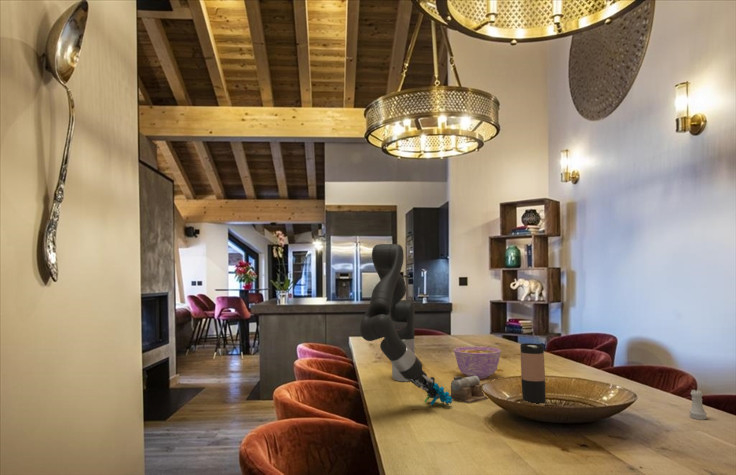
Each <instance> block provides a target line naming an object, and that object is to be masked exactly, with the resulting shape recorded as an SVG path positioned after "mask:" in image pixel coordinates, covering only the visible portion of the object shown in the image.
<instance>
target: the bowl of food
mask: <svg viewBox="0 0 736 475" xmlns="http://www.w3.org/2000/svg"><path fill="white" fill-rule="evenodd" d="M453 352H454V357H455V360H456V364H457V368H458V369H459V371H460V372H461V373H462V374H463V375H465V376H467V377H471V376H477V377H478V378H479V380H482V379H483V380H485V379H487V378H488V377H489V376H492V375H494V374H495V373H496V372H497V370H498V367H499V362H500V357H501V349H499V348H496V347H490V346H459V347H455V348H453Z"/></svg>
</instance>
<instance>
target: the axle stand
mask: <svg viewBox="0 0 736 475" xmlns="http://www.w3.org/2000/svg"><path fill="white" fill-rule="evenodd" d="M480 383H481V379H479V378H478V377H477V376H471V377H468V376H467V377H462V376H460V375H458V376H454V377H453V379H452V380H451V383H450V394H449V395H448V397H449V396H451V397H452V400H455V401H459V402H462V403H466V404H472V403H476V402H481V401H485V400H488V399H489V397H488V398H487V397H486V396H487V395H485V392H484V393H483V392H482V390H481V385H482V384H480Z"/></svg>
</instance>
